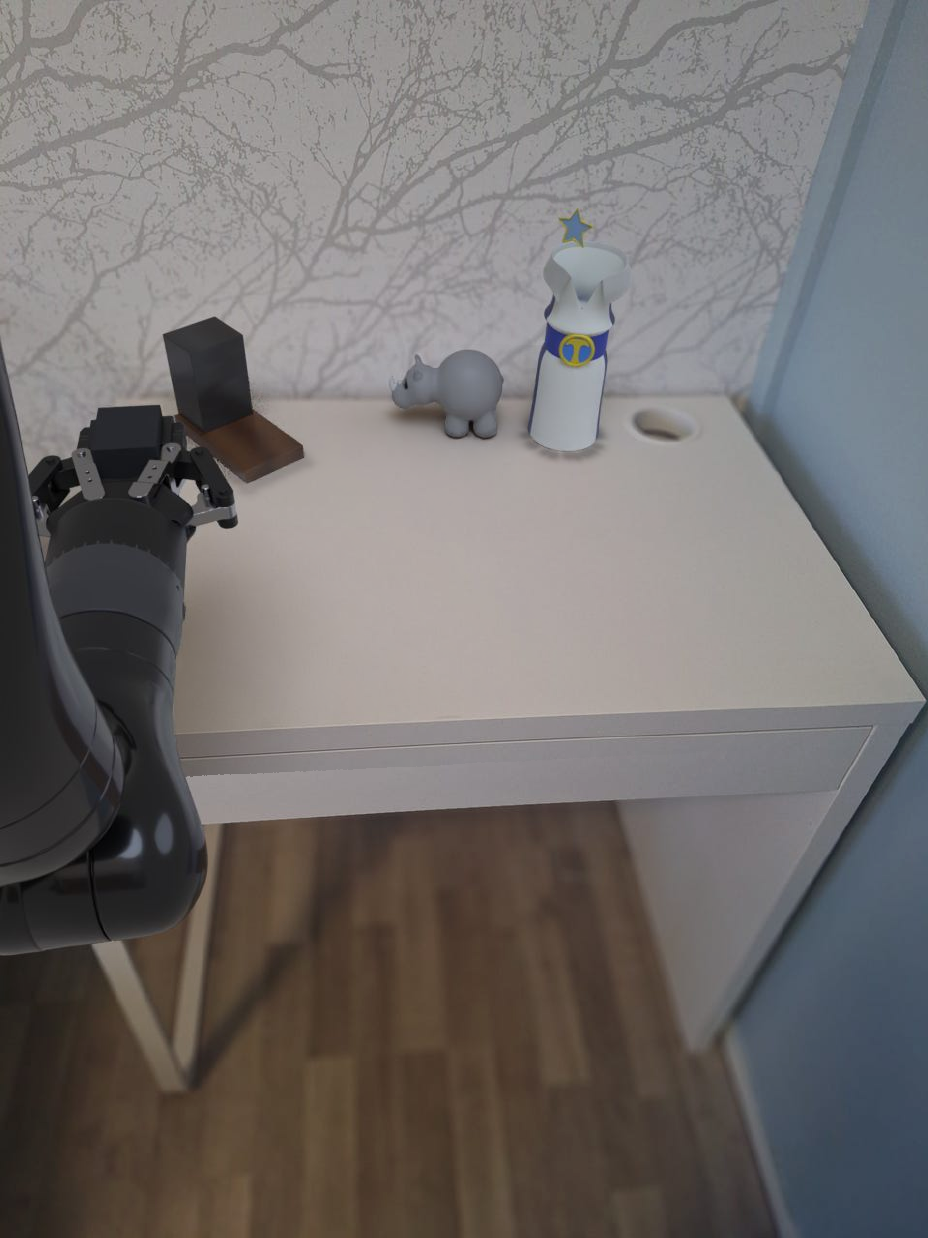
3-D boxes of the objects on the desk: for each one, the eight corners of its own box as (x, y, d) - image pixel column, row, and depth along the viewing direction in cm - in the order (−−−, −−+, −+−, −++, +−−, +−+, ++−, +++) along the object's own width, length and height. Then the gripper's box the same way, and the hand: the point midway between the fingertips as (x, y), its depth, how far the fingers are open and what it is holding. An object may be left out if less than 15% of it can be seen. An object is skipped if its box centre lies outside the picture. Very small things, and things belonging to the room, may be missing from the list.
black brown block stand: (247, 483, 91) (233, 389, 83) (176, 427, 97) (157, 335, 90) (304, 457, 94) (296, 365, 87) (232, 404, 101) (219, 314, 93)
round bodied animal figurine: (391, 403, 102) (391, 332, 96) (499, 408, 103) (505, 338, 97) (387, 440, 97) (386, 367, 91) (499, 445, 98) (506, 373, 92)
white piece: (604, 457, 97) (649, 216, 79) (523, 449, 97) (551, 208, 80) (603, 414, 103) (645, 182, 85) (527, 407, 103) (553, 174, 86)
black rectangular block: (120, 559, 64) (89, 449, 57) (126, 515, 67) (97, 407, 61) (180, 554, 64) (156, 446, 58) (182, 511, 68) (160, 404, 61)
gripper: (235, 536, 49) (234, 374, 61) (-48, 558, 47) (8, 385, 59) (252, 634, 55) (247, 467, 67) (-3, 658, 52) (40, 480, 64)
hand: (135, 429), depth 63 cm, fingers closed on black rectangular block, 4 cm apart
